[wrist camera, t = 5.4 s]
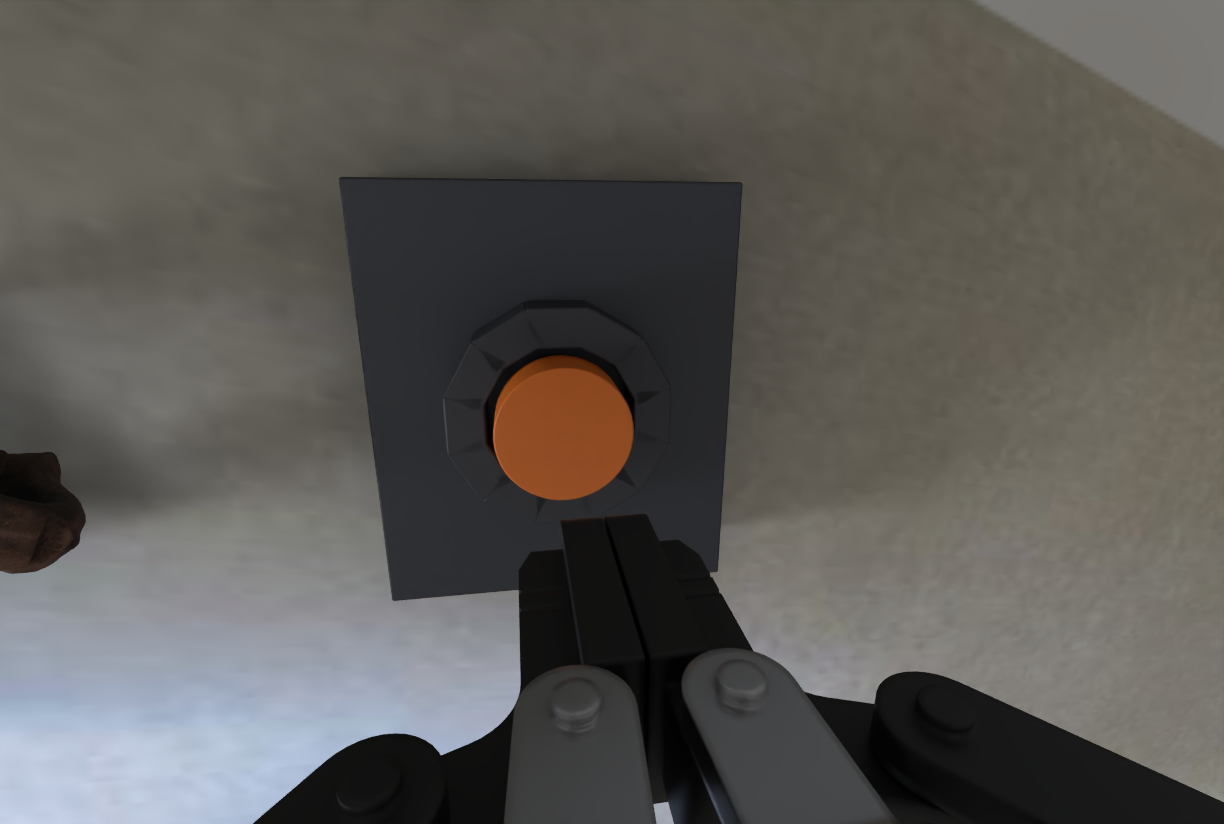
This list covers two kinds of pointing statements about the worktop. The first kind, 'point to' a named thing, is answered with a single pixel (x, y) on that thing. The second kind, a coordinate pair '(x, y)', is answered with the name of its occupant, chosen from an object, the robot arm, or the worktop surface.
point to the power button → (562, 428)
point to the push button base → (537, 356)
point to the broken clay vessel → (35, 513)
